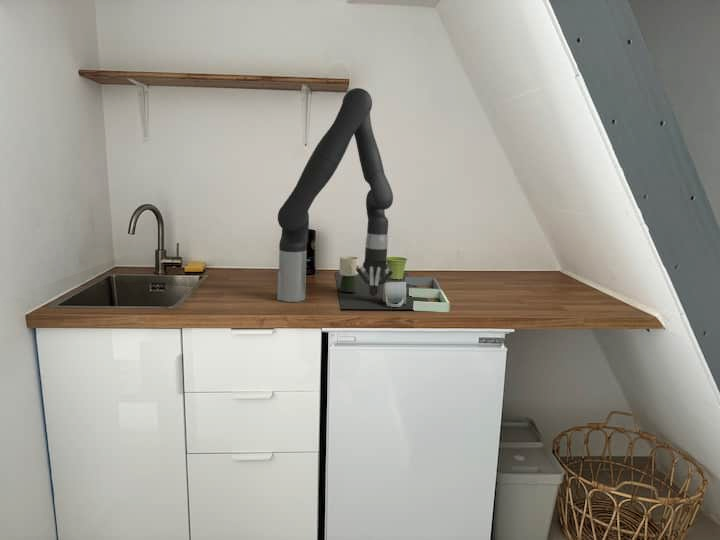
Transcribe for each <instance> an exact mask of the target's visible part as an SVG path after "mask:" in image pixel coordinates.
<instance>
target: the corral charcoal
mask: <svg viewBox="0 0 720 540" xmlns="http://www.w3.org/2000/svg"><path fill="white" fill-rule="evenodd" d="M404 282H406V284H410V285H409V286H426V287H427V286H429V287H433V289H435V290H442V291H443V289H442V287H441V286H440V284H439V283H438V281H437V279H436V278H433V277H415V276H414V277H413V276H405V279H404ZM413 288H414V289H431V288H428V287H427V288H425V287H424V288H423V287H413ZM407 295H409V293H408V294H407Z"/></svg>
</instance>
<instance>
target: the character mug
mask: <svg viewBox="0 0 720 540" xmlns="http://www.w3.org/2000/svg"><path fill="white" fill-rule="evenodd" d="M357 268H360V257H357V256H353V255H352V256H348V255H344V256H340V257H339V274H338V275H340V276H341V278H340V279H341V280H340V286H339V291H340V292H344V293H345V292H347V294H349V293H356V292H357V290H358V289H357V279H356V276H357V275H359V273H358V272H357Z"/></svg>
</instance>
